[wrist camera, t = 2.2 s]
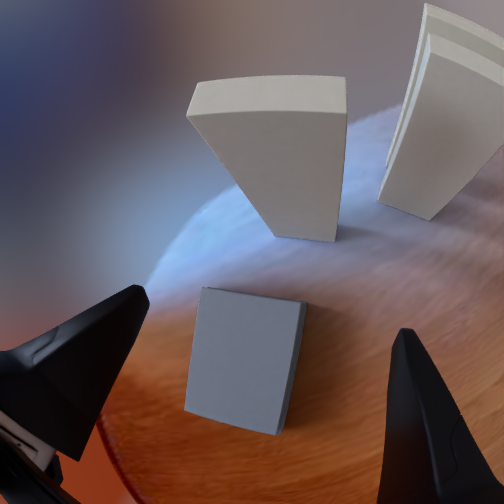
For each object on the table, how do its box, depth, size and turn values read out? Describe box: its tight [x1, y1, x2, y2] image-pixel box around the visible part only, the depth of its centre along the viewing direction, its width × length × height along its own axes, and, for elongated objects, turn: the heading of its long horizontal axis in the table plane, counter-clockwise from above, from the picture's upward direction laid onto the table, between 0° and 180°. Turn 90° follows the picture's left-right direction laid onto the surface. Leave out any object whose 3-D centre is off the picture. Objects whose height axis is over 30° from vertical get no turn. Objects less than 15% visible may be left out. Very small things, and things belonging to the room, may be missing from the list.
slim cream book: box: [187, 75, 348, 242], centre depth 15 cm, size 2×5×16 cm, turn 81°
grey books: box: [184, 287, 308, 435], centre depth 21 cm, size 11×8×3 cm
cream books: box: [377, 3, 504, 221], centre depth 14 cm, size 5×5×16 cm
